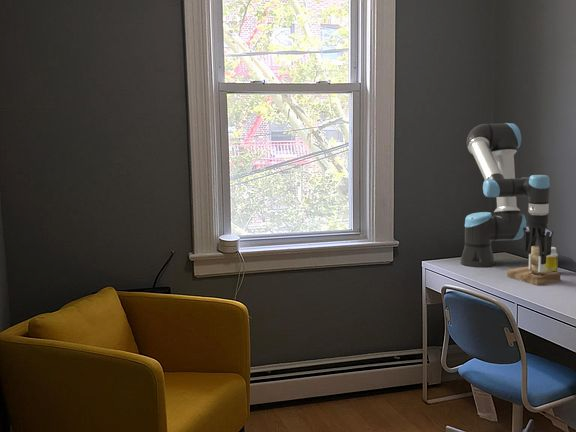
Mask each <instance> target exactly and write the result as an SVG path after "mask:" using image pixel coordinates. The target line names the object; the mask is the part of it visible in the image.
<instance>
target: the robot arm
mask: <svg viewBox="0 0 576 432" xmlns="http://www.w3.org/2000/svg"><path fill="white" fill-rule="evenodd" d="M521 145H522V135H521V130H520V128H519V126H518V125H516V124H515V123H512V122H511V123H508V122H503V123H502V122H501V123H481V124H479V125H477V126H474V127H473V128H472V129H471V130H470V131H469V133H468V135H467V138H466V148H467V150H468V152H469V153H470V154H471V155H473V158H474V159H475V162H476V164H477V166H478V168H479V171H480V173H481V175H482V177H483V179H484V181H483V184H482V191H483V194H484V196H485V197H487V198H496V208H495V210H494V211H493V213H492V212H488V211H481V212H474V213H473V212H472V213H470V214H468V215H466V217H465V219H464V248H463V251H462V254H461V256H460V264H461V265H464V266H467V267H475V268H483V267H484V268H485V267H486V268H487V267H492V266H494V265H495V264H496V262H495V257H494V253H493V249H492V242H494V241H495V242H498V241H515V240H516V241H517V240H521V239H523V251H524V252H526V253H527V261H528V266H529V270H531V269H532V264H531V246H536V243H537V240H538V246H539V248H540V255H539V264H538V272H544V271H545V264H546V256H548V255H551V247H552V243H553V242H552V241H553V240H552V239H553V235H554V231H553V230H549V229H548V226H547V225H548V223H549V210H550V207H549V205H550V186H551V183H550V177H549V176H548V175H546V174H533V175H530V176H526V177H525V176H524V177H521V178H516V175H515V174H516V172H515V171H516V170H515V158H514V157H515V155H516V153H517V152H518V151H517V150H518V149H519V148H520V146H521ZM517 197H528V217H527V219H526V216H525V215H524V214H522V213H521V212H522V211H521V209H520V208H519V207H518V206H517ZM527 223H528V226H527Z"/></svg>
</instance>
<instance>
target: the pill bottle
mask: <svg viewBox="0 0 576 432" xmlns="http://www.w3.org/2000/svg"><path fill="white" fill-rule="evenodd" d="M558 261H559V255H558V253H557V247H556V246H555V247H554V246H551V255H548V256H546V264H545V270H548V271H552V272H555V273H558V265H559V262H558Z"/></svg>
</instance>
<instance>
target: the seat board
mask: <svg viewBox="0 0 576 432" xmlns="http://www.w3.org/2000/svg"><path fill="white" fill-rule="evenodd" d="M506 270H507V271H506V277H507V278H509V277H510V279H513V280H516V279H517V280H516V281H520V280H521V281H520V282H523V281H524V283H527V284H531V285H534V286H541V285H547V284H550V283H556V282H557V283H558V282H561V273H559V272H557V273H555V272H552V271H548V270H545V271H544V272H541V276H534V275H532V272H531V270H529V265H527V266H522V267H516V268H510V269H506Z"/></svg>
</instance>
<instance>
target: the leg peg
mask: <svg viewBox="0 0 576 432" xmlns="http://www.w3.org/2000/svg"><path fill="white" fill-rule="evenodd" d="M539 255H540V248H539V245H535V246H531V264H532V269H531V272H532V275H534V276H541V272H538V264H539Z"/></svg>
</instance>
